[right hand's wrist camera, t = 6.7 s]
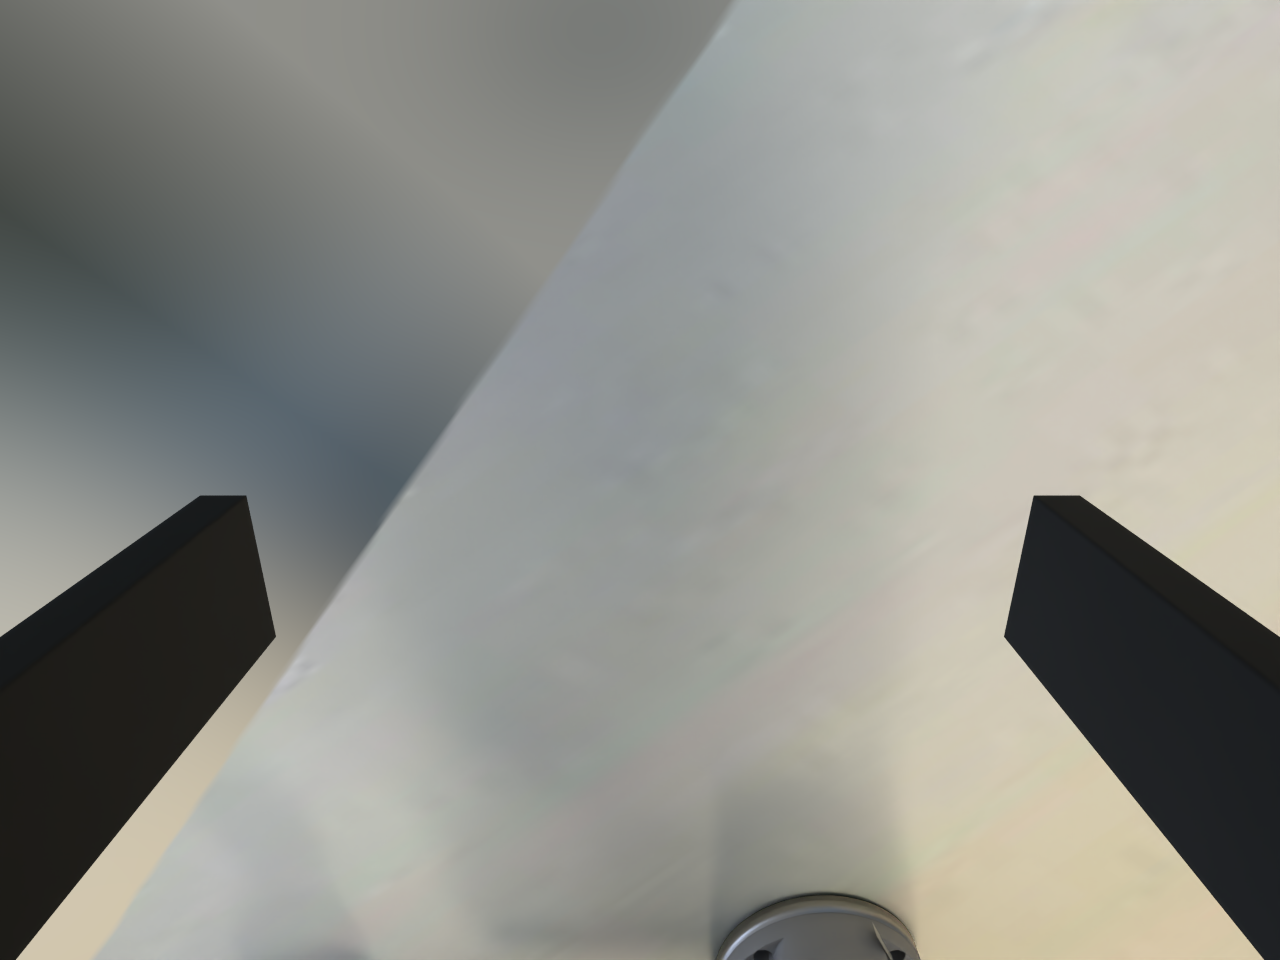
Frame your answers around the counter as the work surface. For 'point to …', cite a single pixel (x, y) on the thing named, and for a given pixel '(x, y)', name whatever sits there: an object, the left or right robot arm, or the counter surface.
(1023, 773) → the counter surface
